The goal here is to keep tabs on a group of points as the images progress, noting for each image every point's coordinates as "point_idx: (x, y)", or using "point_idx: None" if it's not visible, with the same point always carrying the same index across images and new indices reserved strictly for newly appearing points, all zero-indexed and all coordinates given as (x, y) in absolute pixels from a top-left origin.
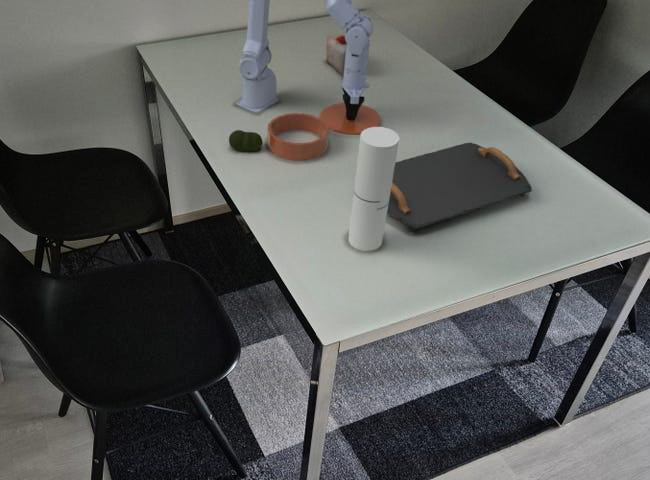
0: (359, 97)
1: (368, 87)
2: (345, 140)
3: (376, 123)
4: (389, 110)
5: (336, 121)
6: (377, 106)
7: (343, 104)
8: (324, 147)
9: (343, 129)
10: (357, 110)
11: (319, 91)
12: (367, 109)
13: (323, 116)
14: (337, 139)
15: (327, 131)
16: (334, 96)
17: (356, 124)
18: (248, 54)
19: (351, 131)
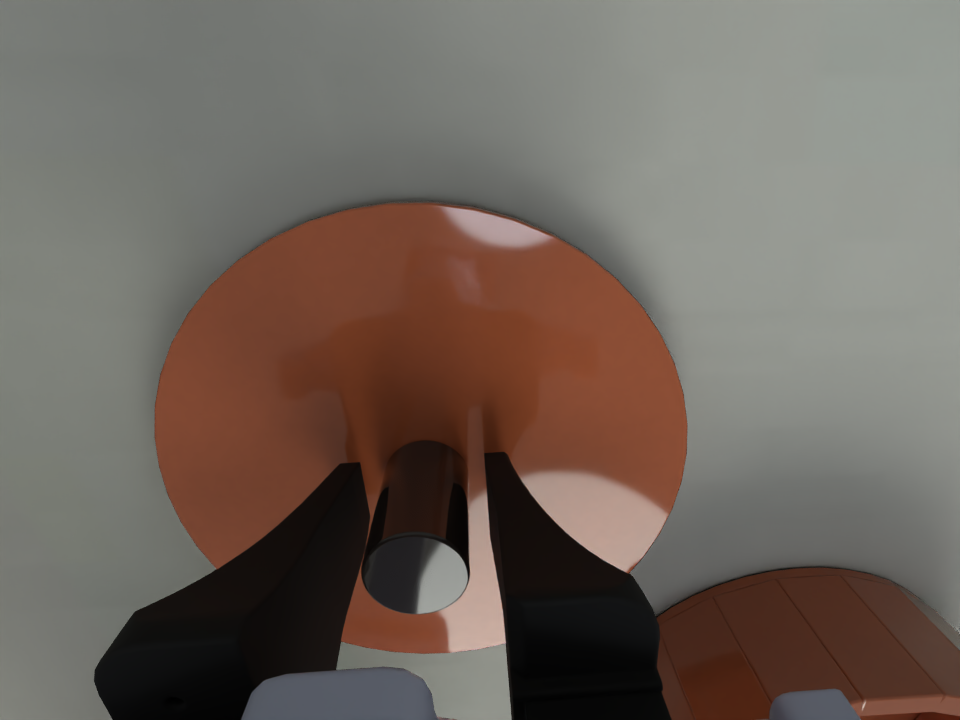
0: (561, 657)
1: (421, 694)
2: (723, 471)
3: (503, 248)
4: (104, 85)
5: None
6: (72, 225)
7: (218, 532)
8: (935, 625)
9: (633, 513)
10: (546, 516)
11: (41, 657)
12: (237, 339)
13: (452, 637)
14: (707, 519)
15: (931, 704)
16: (66, 571)
17: (544, 426)
18: None
19: (663, 458)
